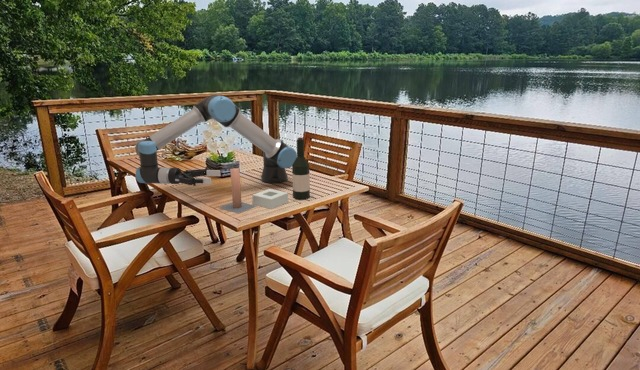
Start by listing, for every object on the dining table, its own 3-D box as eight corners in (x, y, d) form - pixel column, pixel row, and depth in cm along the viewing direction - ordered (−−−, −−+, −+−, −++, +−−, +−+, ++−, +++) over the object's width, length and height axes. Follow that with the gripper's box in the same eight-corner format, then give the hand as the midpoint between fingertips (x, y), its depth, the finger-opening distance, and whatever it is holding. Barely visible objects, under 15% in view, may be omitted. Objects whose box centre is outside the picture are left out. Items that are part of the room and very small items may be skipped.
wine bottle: (292, 195, 213) (291, 136, 205) (309, 194, 214) (308, 136, 205) (293, 200, 205) (291, 139, 197) (310, 199, 206) (309, 139, 197)
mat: (217, 208, 195) (217, 207, 194) (236, 201, 204) (236, 200, 204) (238, 214, 187) (238, 213, 187) (257, 207, 196) (257, 206, 196)
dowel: (231, 207, 195) (228, 169, 190) (237, 204, 198) (235, 167, 193) (237, 208, 193) (234, 170, 187) (243, 206, 196) (241, 169, 190)
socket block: (252, 204, 199) (252, 194, 198) (269, 198, 208) (269, 188, 207) (271, 209, 192) (271, 199, 191) (288, 202, 202) (288, 192, 200)
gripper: (182, 176, 207) (224, 177, 205) (159, 191, 183) (206, 192, 181) (180, 161, 205) (223, 162, 203) (157, 174, 181) (205, 176, 179)
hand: (215, 177), depth 192 cm, fingers open, 13 cm apart
